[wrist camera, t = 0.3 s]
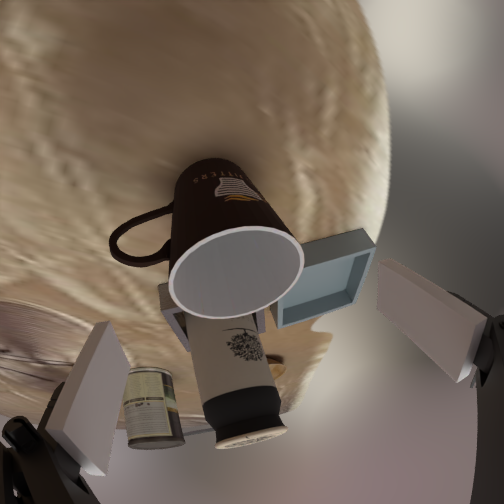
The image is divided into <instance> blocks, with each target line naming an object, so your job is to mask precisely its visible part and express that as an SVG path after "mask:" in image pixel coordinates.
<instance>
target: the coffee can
mask: <svg viewBox="0 0 504 504" xmlns="http://www.w3.org/2000/svg"><path fill="white" fill-rule="evenodd" d="M123 407H124V415H125V423H126V430H127V436H128V442H129V443H128V447H130V448H132V449H144V450H152V449H166V448H172V447H178V446H182V445H184V444H185V440H184V437H183V433H182V429H181V424H180V419H179V415H178V410H177V405H176V399H175V394H174V389H173V383H172V375H171V373H170V372H168V371H167V370H164V369H160V368H154V367H142V368H134V369H130V371H129V374H128V378H127V382H126V386H125V390H124V394H123Z"/></svg>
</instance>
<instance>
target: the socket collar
mask: <svg viewBox="0 0 504 504" xmlns="http://www.w3.org/2000/svg"><path fill="white" fill-rule="evenodd" d="M158 286H159V297H160V308H161V312H162V314H163V315H164V317H165V319H166V320H167V322H168V323H169V325H170V326H171V328H172V329H173V331H174V332H175V334H176V336H177V337H178V339H179V340H180V342H181V343H182V344H183V346H184V347H185V349H186V350H187V352H190V351H191V350H190V345H189V339H188V334H187V328H186V322H185V318H184V316H183V314H182V311H184V310H183V309H181V308H180V307H179V306H177V305H176V303H175V302H174V301H173V299H172V298H171V295H170V292H169V283H165V284H161V285H158ZM251 314H252V317H253V320H254V323H255V326H256V329H257V332H258V334H260V333H264V332H266V331H265V317H264V308H263V309H261V310H259V311H257V312H254V313H251Z"/></svg>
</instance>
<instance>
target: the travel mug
mask: <svg viewBox="0 0 504 504" xmlns="http://www.w3.org/2000/svg"><path fill="white" fill-rule="evenodd" d="M184 316H185V322H186V328H187V334H188V339H189V345H190V350H191V355H192V360H193V365H194V370H195V375H196V380H197V384H198V389H199V394H200V398H201V402H202V406H203V411H204V415H205V419H206V421H207V422H208V423H209V424H210V425H211V426H212V428H213V429H214V430H215V431H216V444H215V447H216V448H218V449H226V448H233V447H239V446H244V445H249V444H253V443H257V442H260V441H263V440H267V439H270V438H273V437H276V436H278V435H281V434H283V433H285V432H287V431H288V427H287V426H285V425H284V424H283V423H282V421H281V419H280V417H279V411H280V405H281V400H280V397H279V394H278V391H277V388H276V385H275V382H274V379H273V376H272V373H271V370H270V368H269V365H268V362H267V359H266V356H265V353H264V350H263V347H262V344H261V341H260V338H259V335H258V332H257V329H256V326H255V323H254V320H253V317H252V314H248V315H244V316H240V317H235V318H227V319H210V318H202V317H199V316H195V315H192V314H190V313H188V312H186V311H184Z"/></svg>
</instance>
